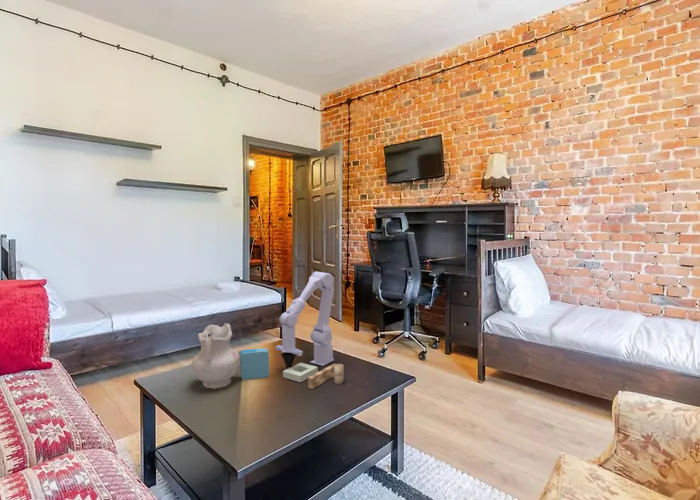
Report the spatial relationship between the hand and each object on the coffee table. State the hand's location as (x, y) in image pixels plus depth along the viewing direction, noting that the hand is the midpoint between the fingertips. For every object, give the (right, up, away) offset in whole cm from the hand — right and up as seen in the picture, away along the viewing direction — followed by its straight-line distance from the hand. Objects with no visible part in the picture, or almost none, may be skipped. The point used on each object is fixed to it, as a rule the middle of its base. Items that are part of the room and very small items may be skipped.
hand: (289, 368), depth 173 cm
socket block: (+6, -2, -4) cm, 7 cm away
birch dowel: (+23, -3, -10) cm, 25 cm away
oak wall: (+16, -3, -9) cm, 19 cm away
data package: (-14, -3, -5) cm, 15 cm away
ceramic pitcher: (-29, -3, -12) cm, 31 cm away
